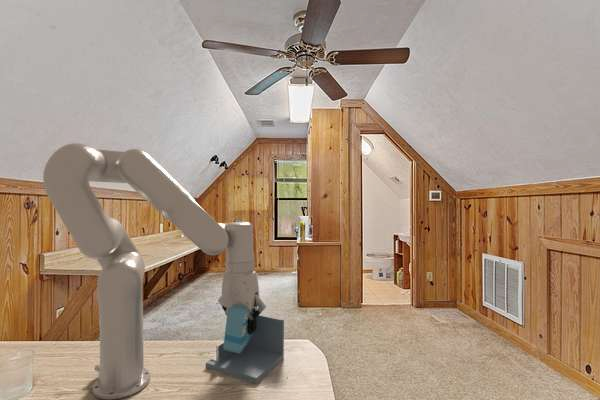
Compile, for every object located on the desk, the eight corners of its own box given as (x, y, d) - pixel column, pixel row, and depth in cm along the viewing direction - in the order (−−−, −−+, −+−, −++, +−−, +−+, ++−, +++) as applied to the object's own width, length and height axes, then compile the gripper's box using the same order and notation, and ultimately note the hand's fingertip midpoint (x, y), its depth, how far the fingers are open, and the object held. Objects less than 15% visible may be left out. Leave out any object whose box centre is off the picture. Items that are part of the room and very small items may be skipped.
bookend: (210, 360, 93) (210, 343, 93) (232, 345, 102) (232, 330, 102) (218, 362, 92) (218, 346, 92) (240, 347, 101) (240, 332, 101)
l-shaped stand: (205, 368, 92) (205, 326, 91) (236, 346, 104) (237, 309, 104) (256, 383, 84) (256, 338, 84) (283, 358, 97) (283, 319, 97)
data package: (238, 356, 88) (243, 312, 87) (222, 352, 89) (227, 308, 88) (253, 335, 100) (258, 296, 99) (239, 331, 101) (244, 293, 100)
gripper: (206, 266, 94) (208, 330, 95) (258, 273, 86) (260, 341, 87) (224, 261, 101) (226, 320, 101) (274, 266, 93) (275, 330, 94)
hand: (242, 329), depth 94 cm, fingers closed on data package, 6 cm apart
